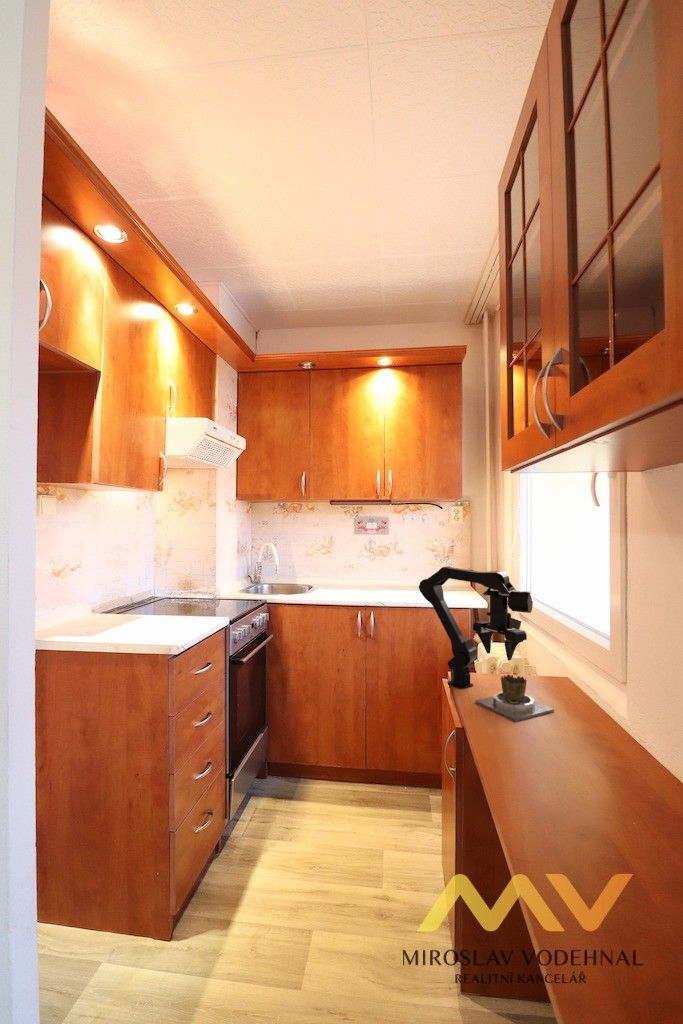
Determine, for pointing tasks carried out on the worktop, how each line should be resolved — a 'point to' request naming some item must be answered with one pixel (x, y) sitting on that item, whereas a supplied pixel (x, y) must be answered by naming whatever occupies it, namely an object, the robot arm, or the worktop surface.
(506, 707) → the cup bracket
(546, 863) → the worktop surface
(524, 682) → the cup
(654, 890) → the worktop surface
